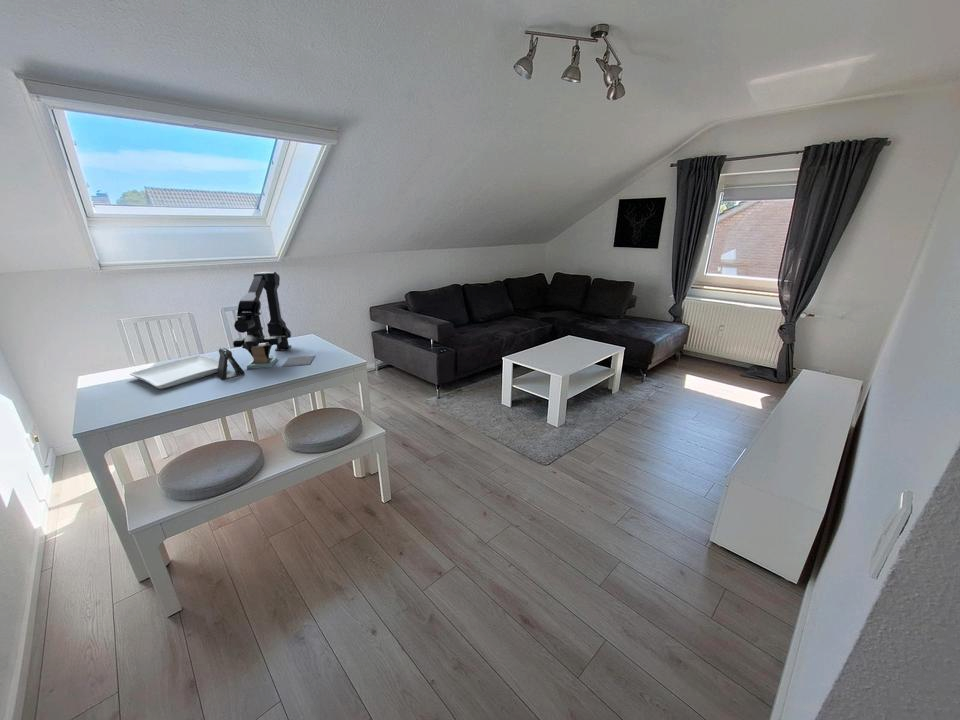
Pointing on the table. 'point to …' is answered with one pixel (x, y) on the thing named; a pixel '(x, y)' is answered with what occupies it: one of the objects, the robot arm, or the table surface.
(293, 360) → the pad
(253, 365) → the pocket frame
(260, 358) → the oak block
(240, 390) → the table surface
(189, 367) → the square plate
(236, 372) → the phone stand
